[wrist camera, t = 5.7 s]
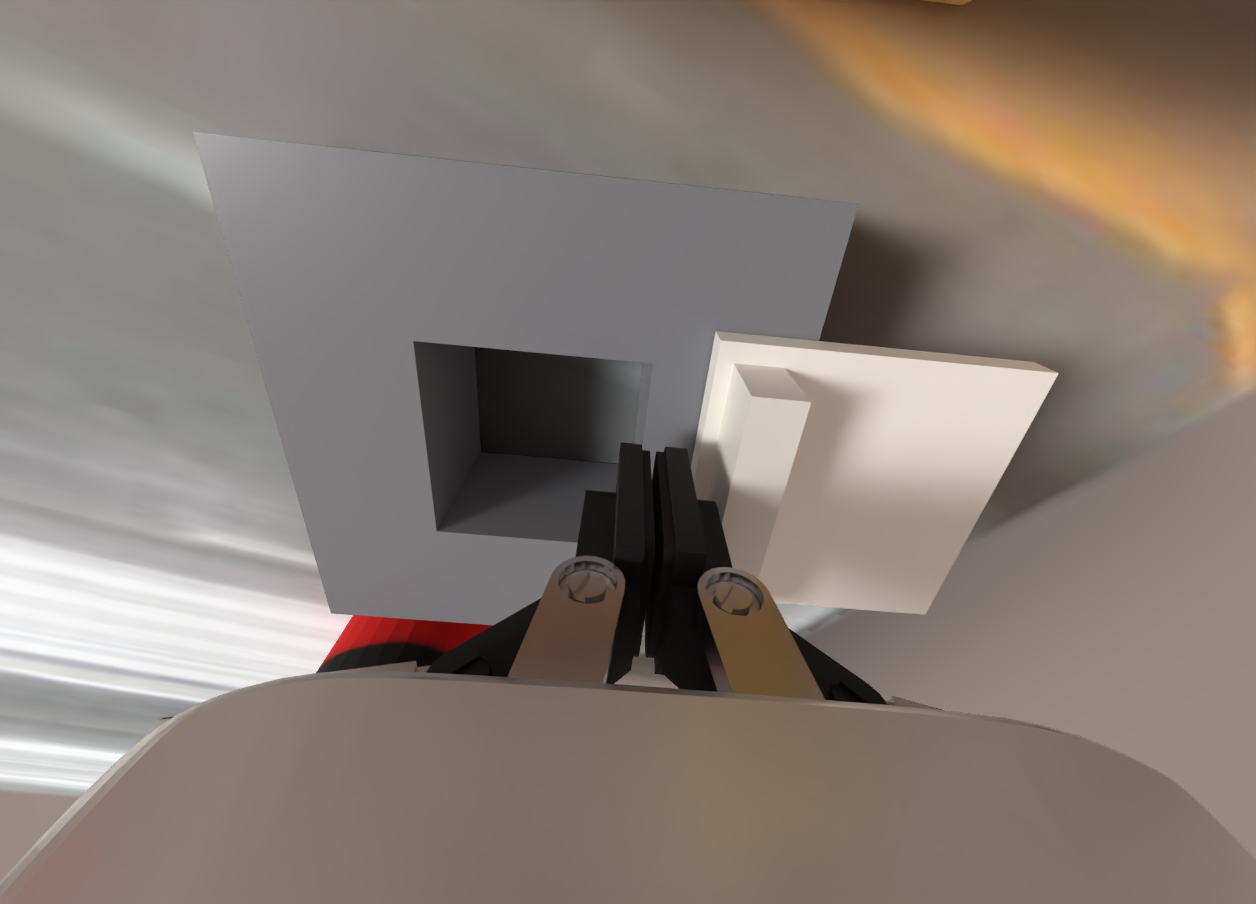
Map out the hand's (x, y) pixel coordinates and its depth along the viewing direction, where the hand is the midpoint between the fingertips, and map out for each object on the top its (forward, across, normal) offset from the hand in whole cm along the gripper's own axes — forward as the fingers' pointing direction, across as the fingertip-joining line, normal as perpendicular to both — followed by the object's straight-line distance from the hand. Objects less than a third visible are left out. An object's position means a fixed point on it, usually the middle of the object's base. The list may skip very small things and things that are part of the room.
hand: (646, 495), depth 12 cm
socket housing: (+6, +3, 0) cm, 7 cm away
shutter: (+2, -5, 0) cm, 6 cm away
